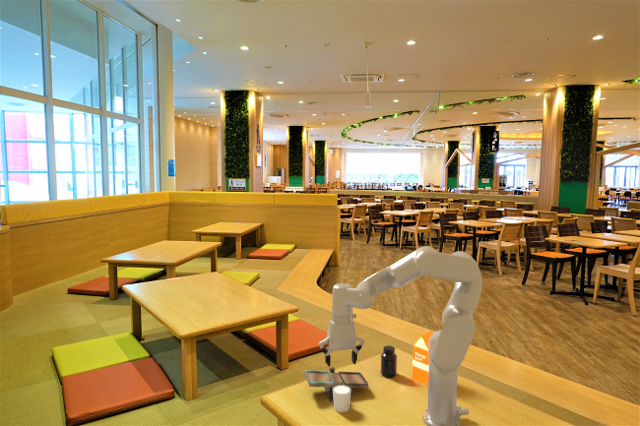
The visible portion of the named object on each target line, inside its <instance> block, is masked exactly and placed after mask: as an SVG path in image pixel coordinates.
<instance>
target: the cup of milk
mask: <svg viewBox="0 0 640 426" xmlns="http://www.w3.org/2000/svg"><path fill="white" fill-rule="evenodd" d="M351 393H352V388H349V387H348V386H345V385H338V386H335V387H334V388H333V400H334V401H333V408H334V410H335V411H336V412H338V413H346V412H348V411H349V410H350V404H351V399H350V397H351ZM351 398H352V397H351Z"/></svg>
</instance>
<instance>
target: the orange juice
mask: <svg viewBox="0 0 640 426" xmlns="http://www.w3.org/2000/svg"><path fill="white" fill-rule="evenodd" d="M433 333H434V331H433V330H431V331H428V332H427V333H426V332H425V333H424V334H422V335H420V337H419V338H418V339H417V341H416V342H415V343H414V344H413V346H412V380H413V381H416V382H419V383H421V384H423V385H426V386H428V376H429V339H430V337H431V335H432V334H433Z"/></svg>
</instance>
